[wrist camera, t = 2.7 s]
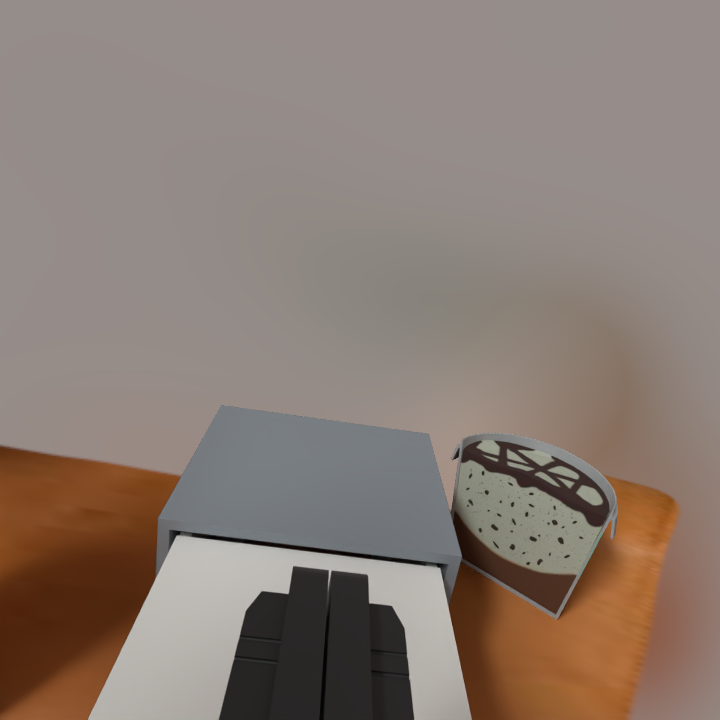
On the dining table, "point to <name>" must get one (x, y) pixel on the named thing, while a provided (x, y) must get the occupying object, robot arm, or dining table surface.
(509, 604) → the dining table surface
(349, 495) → the sleeve
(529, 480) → the food container
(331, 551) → the white cuboid
